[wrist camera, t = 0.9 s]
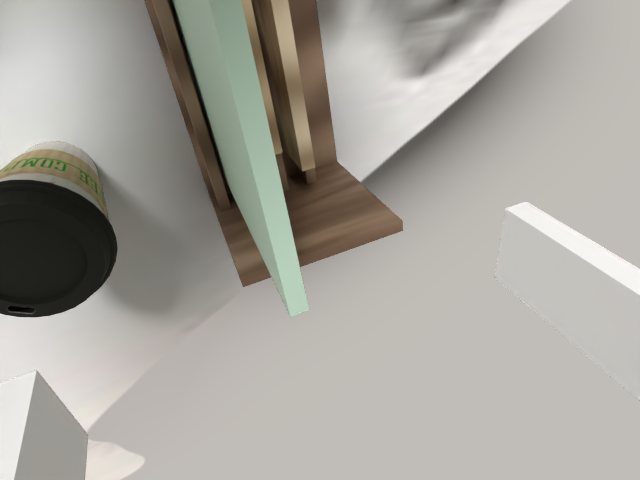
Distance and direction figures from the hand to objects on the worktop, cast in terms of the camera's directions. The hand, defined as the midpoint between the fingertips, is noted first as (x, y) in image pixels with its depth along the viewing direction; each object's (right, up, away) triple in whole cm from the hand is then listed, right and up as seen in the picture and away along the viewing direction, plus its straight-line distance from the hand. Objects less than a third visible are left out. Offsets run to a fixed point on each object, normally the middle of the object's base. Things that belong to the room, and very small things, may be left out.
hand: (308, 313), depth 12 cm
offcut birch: (-5, +18, +27) cm, 33 cm away
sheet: (-10, +18, +24) cm, 32 cm away
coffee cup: (-23, +8, +27) cm, 37 cm away
